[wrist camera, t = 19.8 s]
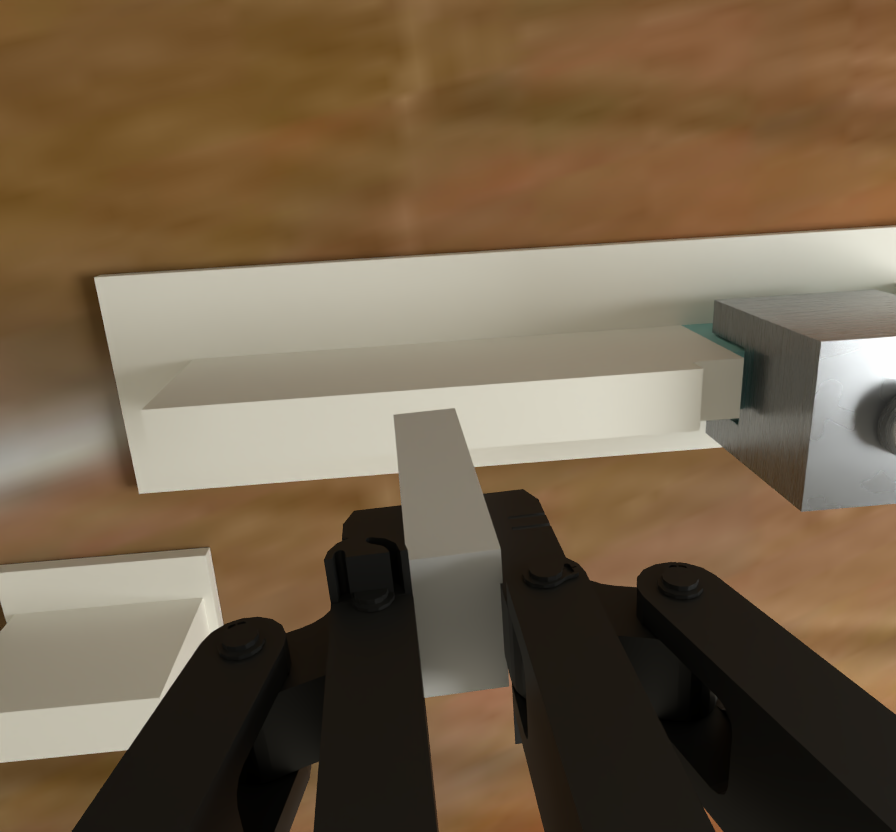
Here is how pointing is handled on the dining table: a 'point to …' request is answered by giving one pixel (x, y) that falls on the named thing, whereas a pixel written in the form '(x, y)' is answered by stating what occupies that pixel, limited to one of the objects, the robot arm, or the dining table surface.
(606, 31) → the dining table surface
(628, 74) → the dining table surface
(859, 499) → the grey cube with knob
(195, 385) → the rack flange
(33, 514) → the dining table surface
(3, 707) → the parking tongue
